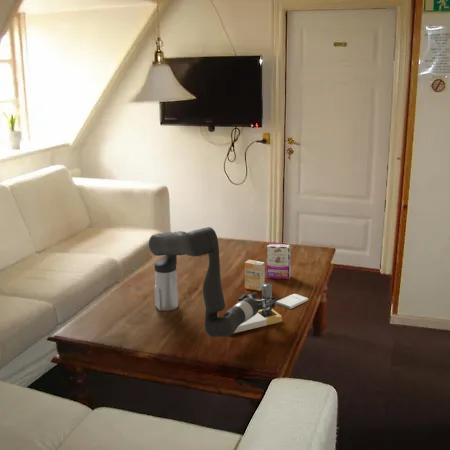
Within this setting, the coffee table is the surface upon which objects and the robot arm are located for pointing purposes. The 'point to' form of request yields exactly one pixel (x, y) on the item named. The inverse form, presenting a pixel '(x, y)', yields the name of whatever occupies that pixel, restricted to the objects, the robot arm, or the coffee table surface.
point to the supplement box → (254, 275)
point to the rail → (259, 321)
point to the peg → (266, 297)
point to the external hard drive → (292, 301)
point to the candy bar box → (278, 261)
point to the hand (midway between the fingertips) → (265, 296)
